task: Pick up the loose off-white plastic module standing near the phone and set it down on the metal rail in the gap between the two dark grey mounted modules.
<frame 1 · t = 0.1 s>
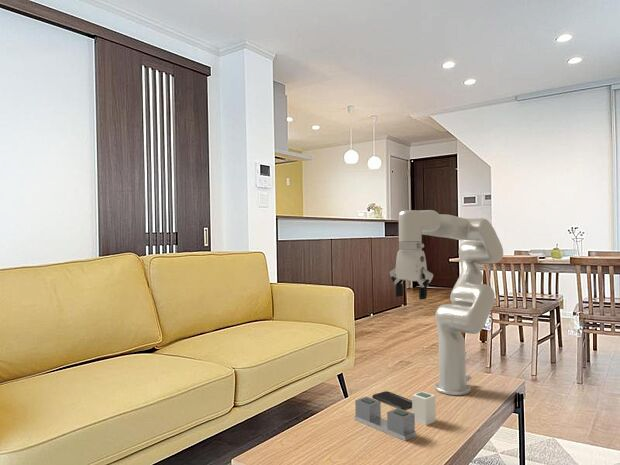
hand: (410, 297, 156), 37 cm above the table, tool pointing down, fingers open, 9 cm apart
rail: (384, 427, 140), on the table
phone: (393, 402, 161), on the table
module: (424, 420, 144), on the table
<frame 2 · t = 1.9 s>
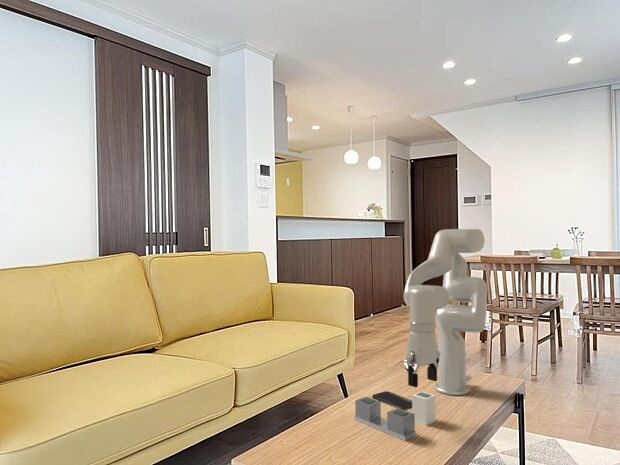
hand: (422, 383, 144), 12 cm above the table, tool pointing down, fingers open, 9 cm apart
nothing on the table moved.
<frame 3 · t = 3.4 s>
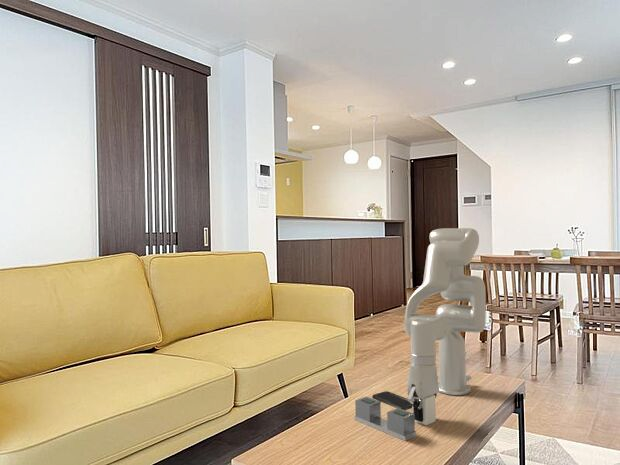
hand: (423, 417, 144), 1 cm above the table, tool pointing down, fingers closed on module, 5 cm apart
module: (424, 420, 144), on the table, touching gripper
everything else where it was.
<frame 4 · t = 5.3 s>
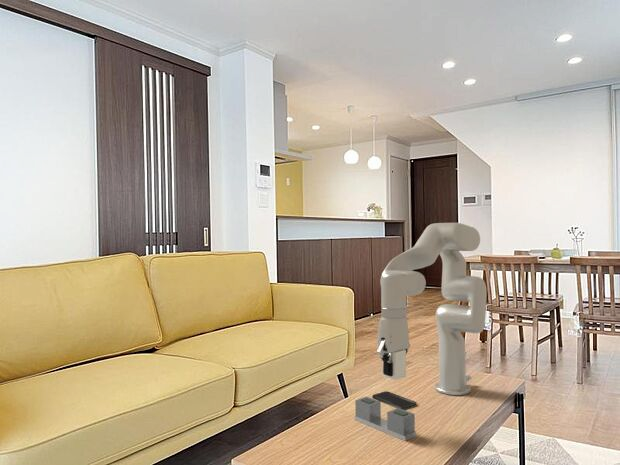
hand: (394, 372, 141), 16 cm above the table, tool pointing down, fingers closed on module, 5 cm apart
module: (394, 376, 141), point 15 cm above the table, touching gripper
everything else where it was.
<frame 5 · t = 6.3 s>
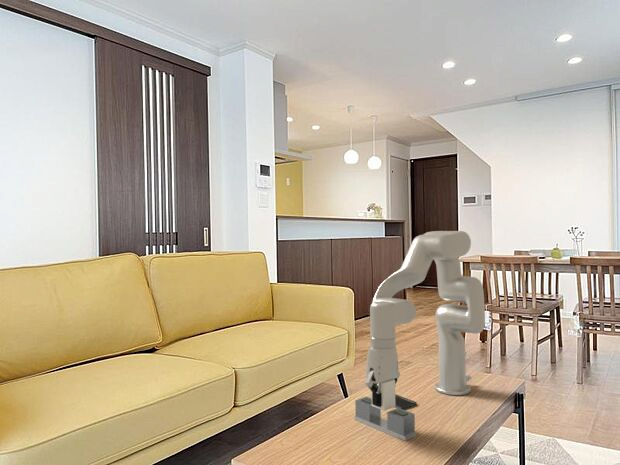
hand: (383, 402, 140), 7 cm above the table, tool pointing down, fingers closed on module, 5 cm apart
module: (383, 406, 140), point 6 cm above the table, touching gripper
everything else where it was.
when the fingers open (4 cm above the table, at t = 7.3 s): module drops 2 cm, resting on rail.
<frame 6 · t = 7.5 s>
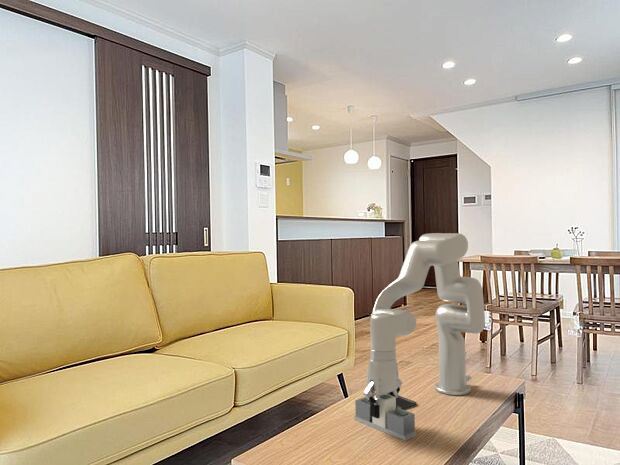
hand: (383, 413, 140), 4 cm above the table, tool pointing down, fingers open, 7 cm apart
module: (384, 423, 140), point 1 cm above the table, touching rail
everything else where it was.
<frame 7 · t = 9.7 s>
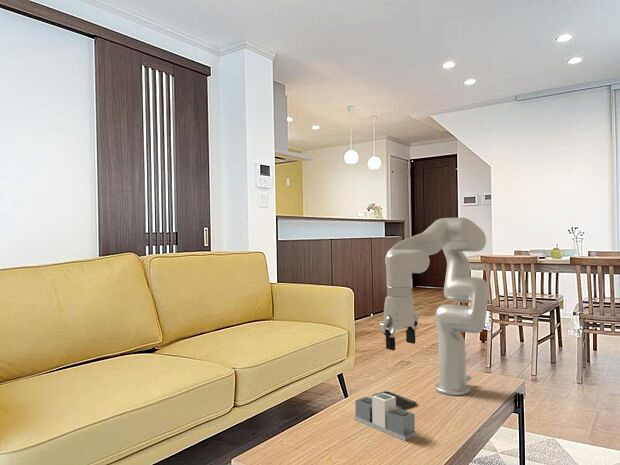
hand: (401, 346, 145), 23 cm above the table, tool pointing down, fingers open, 9 cm apart
nothing on the table moved.
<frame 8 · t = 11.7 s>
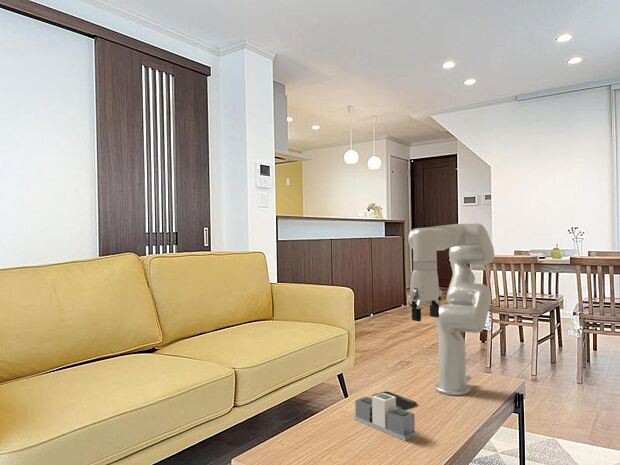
hand: (425, 318, 152), 30 cm above the table, tool pointing down, fingers open, 9 cm apart
nothing on the table moved.
at the end: module 0.1 cm off-centre on the rail, point 1.2 cm above the rail's base; module tilted 0°; the gripper is holding nothing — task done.
